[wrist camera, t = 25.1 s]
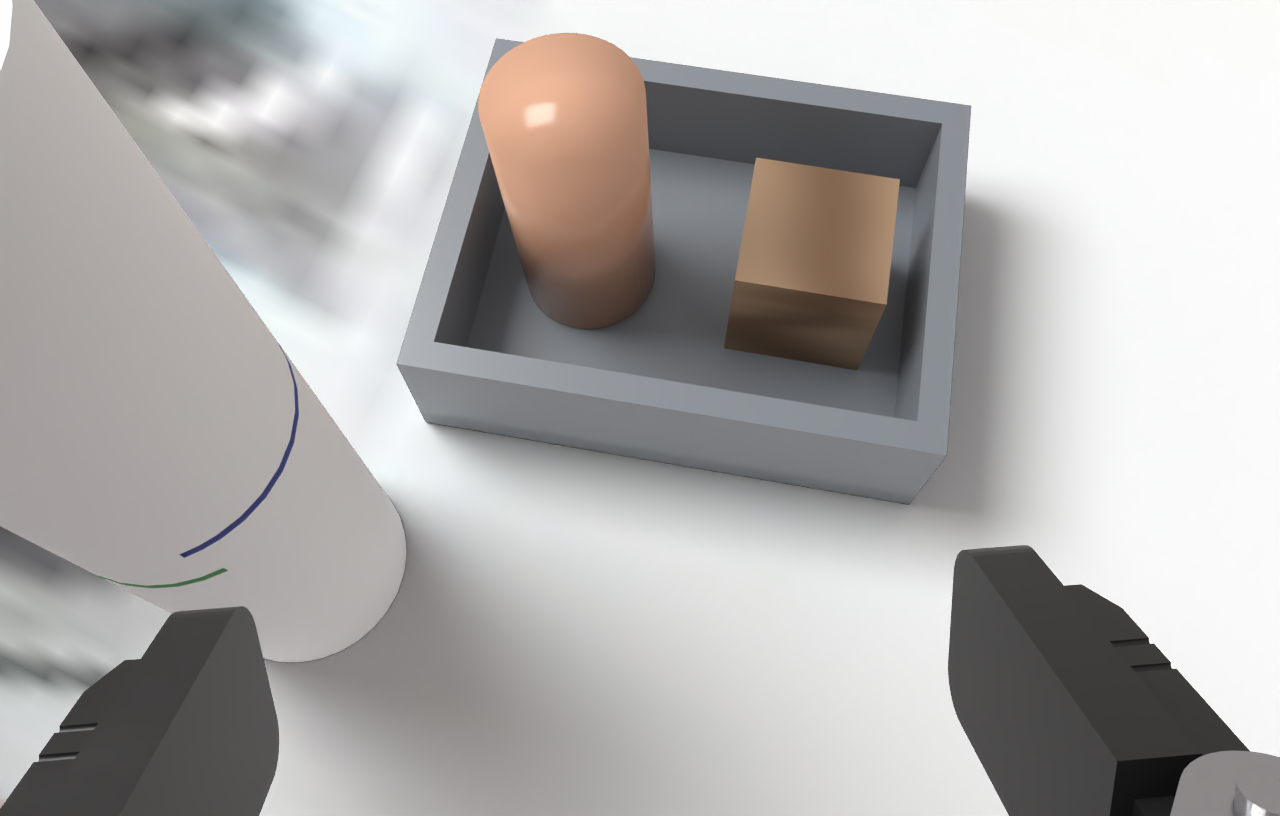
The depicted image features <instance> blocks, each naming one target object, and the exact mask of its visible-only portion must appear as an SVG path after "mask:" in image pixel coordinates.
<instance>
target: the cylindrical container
mask: <svg viewBox="0 0 1280 816" xmlns="http://www.w3.org/2000/svg"><path fill="white" fill-rule="evenodd" d="M0 526H1V527H3V528H5V529H7V530H9V531H11V532H13V533H15V534H17V535H19V536H21V537H23V538H25V539H27V540H29V541H31V542H32V543H34V544H36V545H38V546H40V547H42V548H44V549H46V550H48V551H50V552H52V553H54V554H56V555H58V556H60V557H62V558H64V559H66V560H68V561H70V562H72V563H74V564H76V565H78V566H80V567H82V568H83V569H85V570H87V571H89V572H91V573H93V574H95V575H98V576H99V577H101V578H103V579H105V580H107V581H109V582H111V583H113V584H115V585H117V586H119V587H121V588H123V589H125V590H127V591H129V592H131V593H133V594H135V595H137V596H139V597H141V598H143V599H145V600H147V601H149V602H151V603H153V604H155V605H157V606H159V607H161V608H162V609H164V610H166V611H168V612H170V613H172V614H173V613H174V612H177V611H188V610H200V609H213V608H225V607H238V606H244V607H246V608H247V609H248V610H249V611H250V613H251V614H252V616H253V619H254V622H255V625H256V629H257V633H258V638H259V642H260V646H261V651H262V655H263V658H265V659H269V660H273V661H277V662H305V661H310V660H316V659H321V658H324V657H327V656H329V655H332V654H334V653H337V652H340V651H342V650H343V649H345V648H347V647H348V646H350V645H352V644H354V643H355V642H357V641H358V640H360V639H361V638H362V637H363V636H364V635H365V634H367V633H368V632H369V631H370V630H371V629H373V628H374V626H375V625H376V624H377V623H378V622H379V621H380V619H381V618H382V617H383V616H384V615H385V613H386V612H387V611H388V609H389V607H390V605H391V604H392V602H393V600H394V598H395V597H396V595H397V593H398V590H399V587H400V584H401V581H402V578H403V575H404V571H405V562H406V554H407V550H406V539H405V532H404V529H403V525H402V522H401V519H400V516H399V514H398V512H397V511H396V509H395V507H394V505H393V503H392V502H391V500H390V499H389V497H388V496H387V495H386V493H385V492H384V490H383V489H382V488H381V486H380V485H379V483H378V482H377V481H376V479H375V478H374V476H373V475H372V474H371V472H370V471H369V469H368V468H367V467H366V465H365V464H364V462H363V461H362V460H361V458H360V457H359V455H358V454H357V452H356V451H355V450H354V448H353V447H352V445H351V444H350V443H349V441H348V440H347V438H346V437H345V436H344V434H343V433H342V431H341V430H340V429H339V427H338V426H337V424H336V423H335V422H334V420H333V419H332V417H331V416H330V415H329V413H328V412H327V410H326V409H325V408H324V406H323V405H322V403H321V402H320V401H319V399H318V398H317V396H316V395H315V394H314V392H313V391H312V389H311V388H310V387H309V385H308V384H307V382H306V381H305V380H304V378H303V377H302V375H301V374H300V373H299V371H298V370H297V368H296V367H295V366H294V364H293V363H292V361H291V360H290V359H289V357H288V356H287V354H286V353H285V352H284V350H283V349H282V347H281V346H280V345H279V344H278V342H277V341H276V339H275V338H274V336H273V335H272V333H271V332H270V331H269V329H268V328H267V326H266V325H265V324H264V322H263V321H262V319H261V318H260V317H259V315H258V314H257V312H256V311H255V310H254V308H253V307H252V305H251V304H250V303H249V301H248V300H247V298H246V297H245V296H244V294H243V293H242V291H241V290H240V289H239V287H238V286H237V284H236V283H235V282H234V280H233V279H232V277H231V276H230V275H229V273H228V272H227V270H226V269H225V268H224V266H223V265H222V263H221V262H220V261H219V259H218V258H217V256H216V255H215V254H214V252H213V251H212V249H211V248H210V247H209V245H208V244H207V242H206V241H205V240H204V238H203V237H202V235H201V234H200V233H199V231H198V230H197V228H196V227H195V226H194V224H193V223H192V221H191V220H190V219H189V217H188V216H187V214H186V213H185V212H184V210H183V209H182V207H181V206H180V205H179V203H178V202H177V200H176V199H175V198H174V196H173V195H172V193H171V192H170V191H169V189H168V188H167V186H166V185H165V184H164V182H163V181H162V179H161V178H160V177H159V175H158V174H157V172H156V171H155V170H154V168H153V167H152V165H151V164H150V163H149V161H148V160H147V158H146V157H145V156H144V154H143V153H142V151H141V150H140V149H139V147H138V146H137V144H136V143H135V142H134V140H133V139H132V137H131V136H130V135H129V133H128V132H127V130H126V129H125V128H124V126H123V125H122V123H121V122H120V121H119V119H118V118H117V116H116V115H115V114H114V112H113V111H112V109H111V108H110V107H109V105H108V104H107V102H106V101H105V100H104V98H103V97H102V95H101V94H100V93H99V91H98V90H97V88H96V87H95V86H94V84H93V83H92V81H91V80H90V79H89V77H88V76H87V74H86V73H85V72H84V70H83V69H82V67H81V66H80V65H79V63H78V62H77V60H76V59H75V58H74V56H73V55H72V53H71V52H70V51H69V49H68V48H67V46H66V45H65V44H64V42H63V41H62V39H61V38H60V37H59V35H58V34H57V32H56V31H55V30H54V28H53V27H52V25H51V24H50V23H49V21H48V20H47V18H46V17H45V16H44V14H43V13H42V11H41V10H40V9H39V7H38V6H37V4H36V3H35V2H34V0H0Z"/></svg>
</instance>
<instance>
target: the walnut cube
mask: <svg viewBox="0 0 1280 816" xmlns="http://www.w3.org/2000/svg"><path fill="white" fill-rule="evenodd" d="M899 183H900V179H894V178H888V177H881V176H875V175H868V174H861V173H855V172H848V171H842V170H835V169H828V168H822V167H815V166H809V165H802V164H796V163H789V162H782V161H776V160H769V159H763V158H756V161H755V167H754V173H753V178H752V184H751V190H750V195H749V201H748V207H747V213H746V218H745V224H744V230H743V236H742V241H741V247H740V253H739V259H738V264H737V270H736V276H735V282H734V288H733V294H732V300H731V306H730V313H729V319H728V325H727V331H726V338H725V344H724V348H725V349H731V350H737V351H743V352H749V353H755V354H761V355H767V356H773V357H779V358H785V359H791V360H797V361H803V362H809V363H815V364H821V365H827V366H833V367H839V368H845V369H851V370H858V368H859V366H860V363H861V361H862V359H863V357H864V354H865V352H866V350H867V348H868V345H869V343H870V341H871V339H872V336H873V334H874V332H875V330H876V327H877V325H878V323H879V321H880V318H881V316H882V314H883V312H884V309H885V307H886V305H887V296H888V286H889V277H890V268H891V258H892V249H893V240H894V230H895V221H896V211H897V202H898V193H899Z"/></svg>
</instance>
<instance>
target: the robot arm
mask: <svg viewBox="0 0 1280 816" xmlns="http://www.w3.org/2000/svg"><path fill="white" fill-rule="evenodd" d="M948 675H949V685H950V691H951V696H952V701H953V705H954V708H955V711H956V714H957V717H958V719H959V721H960V723H961V725H962V727H963V729H964V731H965V733H966V735H967V737H968V739H969V740H970V742H971V744H972V746H973V748H974V750H975V752H976V754H977V756H978V757H979V759H980V761H981V763H982V765H983V767H984V769H985V771H986V773H987V775H988V776H989V778H990V780H991V782H992V784H993V786H994V788H995V790H996V792H997V793H998V795H999V797H1000V799H1001V801H1002V803H1003V805H1004V807H1005V809H1006V810H1007V812H1008V814H1009V816H1280V757H1276V756H1272V755H1268V754H1263V753H1257V752H1250V751H1249V750H1248V749H1247V747H1246V746H1245V745H1244V744H1243V743H1242V742H1241V741H1240V740H1239V739H1238V737H1237V736H1236V735H1235V734H1234V733H1233V732H1232V731H1231V730H1230V728H1229V727H1228V726H1227V725H1226V724H1225V723H1224V722H1223V721H1222V720H1221V718H1220V717H1219V716H1218V715H1217V714H1216V713H1215V712H1214V711H1213V709H1212V708H1211V707H1210V706H1209V705H1208V704H1207V703H1206V702H1205V700H1204V699H1203V698H1202V697H1201V696H1200V695H1199V694H1198V693H1197V692H1196V690H1195V689H1194V688H1193V687H1192V686H1191V685H1190V684H1189V683H1188V681H1187V680H1186V679H1185V678H1184V677H1183V676H1182V675H1181V674H1180V673H1179V671H1178V670H1177V669H1172V668H1171V662H1170V661H1169V660H1168V659H1167V658H1166V657H1165V656H1164V655H1163V653H1162V652H1161V651H1160V650H1159V649H1158V648H1157V647H1156V646H1155V645H1154V644H1150V643H1149V638H1148V637H1147V636H1146V634H1145V633H1144V632H1143V631H1142V630H1141V629H1140V628H1139V627H1138V626H1137V624H1136V623H1135V622H1134V621H1133V620H1132V619H1131V618H1130V617H1129V615H1128V614H1127V613H1126V612H1125V611H1124V610H1123V609H1122V608H1121V607H1119V606H1117V605H1116V604H1114V603H1112V602H1110V601H1109V600H1107V599H1105V598H1104V597H1102V596H1100V595H1098V594H1097V593H1095V592H1093V591H1092V590H1090V589H1088V588H1086V587H1085V586H1083V585H1069V586H1063V584H1062V583H1061V582H1060V581H1059V580H1058V578H1057V577H1056V576H1055V575H1054V574H1053V572H1052V571H1051V570H1050V569H1049V568H1048V566H1047V565H1046V564H1045V563H1044V562H1043V560H1042V559H1041V558H1040V557H1039V556H1038V554H1037V553H1036V552H1035V551H1034V550H1033V549H1032V548H1031V547H1029V546H1027V545H1021V546H1008V547H996V548H983V549H971V550H962V551H961V552H959V554H958V556H957V558H956V561H955V566H954V579H953V595H952V611H951V627H950V643H949V660H948ZM278 753H279V728H278V721H277V715H276V711H275V707H274V702H273V698H272V694H271V689H270V685H269V681H268V677H267V672H266V668H265V664H264V659H263V655H262V651H261V646H260V642H259V638H258V633H257V629H256V625H255V622H254V619H253V616H252V614H251V613H250V611H249V610H248V609H247V608H246V607H244V606H238V607H225V608H213V609H200V610H188V611H177V612H174V613H173V614H171V615H170V616H169V618H168V619H167V620H166V622H165V623H164V625H163V626H162V628H161V630H160V631H159V633H158V634H157V636H156V637H155V639H154V640H153V642H152V643H151V645H150V646H149V648H148V649H147V651H146V652H145V654H144V655H143V657H142V658H141V659H137V660H125V661H123V662H122V663H121V664H119V665H118V666H117V667H116V668H114V669H113V670H112V671H110V672H109V673H108V674H106V675H105V676H104V677H103V678H101V679H100V680H99V681H97V682H96V683H95V684H94V685H92V686H91V687H90V688H88V689H87V690H86V691H84V693H83V694H82V695H81V697H80V698H79V700H78V701H77V702H76V704H75V705H74V707H73V708H72V709H71V711H70V712H69V714H68V715H67V716H66V718H65V719H64V721H63V722H62V723H61V725H60V732H59V733H54V735H53V736H52V737H51V739H50V740H49V742H48V743H47V744H46V746H45V747H44V749H43V750H42V751H41V753H40V754H39V762H34V763H33V764H32V765H31V767H30V768H29V770H28V771H27V772H26V774H25V775H24V777H23V778H22V779H21V781H20V782H19V784H18V785H17V786H16V788H15V789H14V791H13V792H12V793H11V795H10V796H9V798H8V799H7V800H6V802H5V803H4V805H3V806H2V808H1V809H0V816H259V814H260V812H261V809H262V806H263V804H264V801H265V799H266V796H267V794H268V791H269V789H270V786H271V783H272V781H273V778H274V775H275V771H276V767H277V761H278Z"/></svg>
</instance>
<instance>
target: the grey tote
mask: <svg viewBox="0 0 1280 816" xmlns="http://www.w3.org/2000/svg"><path fill="white" fill-rule="evenodd" d="M522 43H524V42H518V41H511V40H504V39H497V38H496V41H495V44H494V47H493V50H492V54H491V57H490V60H489V63H488V67H487V70H486V73H485V76H484V79H485V77H486V75H487V74H488V72H489V71H490V69H491V68H492V66H493V65H494V64H495V63H496V62H497V61H498V60H499V59H500V58H501V57H502V56H503V55H505V54H506V53H507V52H509V51H510V50H512V49H513V48H514V47H516V46H518V45H520V44H522ZM630 58H631V57H630ZM631 59H632V61H633V62H634V63H635V64H636V66H637V67H638V69H639V71H640V73H641V75H642V78H643V80H644V84H645V90H646V105H647V123H648V141H649V159H650V177H651V195H652V213H653V231H654V249H655V267H656V273H655V280H654V285H653V287H652V290H651V292H650V294H649V296H648V298H647V299H646V301H645V302H644V303H643V305H642V306H641V307H640V308H639V309H638V310H637V311H636V312H634V313H633V314H632V315H631V316H629V317H628V318H626V319H624V320H623V321H620V322H618V323H616V324H613V325H610V326H607V327H602V328H595V329H581V328H575V327H570V326H567V325H564V324H561V323H559V322H557V321H555V320H553V319H552V318H550V317H549V316H547V315H546V314H545V313H544V312H543V311H542V310H541V309H540V308H539V307H538V306H537V305H536V303H535V302H534V300H533V298H532V296H531V294H530V292H529V289H528V286H527V282H526V279H525V275H524V272H523V268H522V265H521V261H520V258H519V254H518V251H517V247H516V244H515V240H514V237H513V233H512V230H511V226H510V223H509V219H508V216H507V212H506V209H505V205H504V202H503V198H502V195H501V191H500V188H499V184H498V181H497V177H496V174H495V170H494V167H493V163H492V160H491V156H490V153H489V149H488V146H487V142H486V139H485V135H484V132H483V128H482V125H481V121H480V118H479V111H478V99H479V96H478V99H477V102H476V106H475V109H474V112H473V116H472V119H471V122H470V125H469V129H468V132H467V135H466V138H465V142H464V145H463V148H462V151H461V155H460V158H459V161H458V164H457V168H456V171H455V174H454V177H453V181H452V184H451V187H450V191H449V194H448V197H447V200H446V204H445V207H444V210H443V213H442V217H441V220H440V223H439V226H438V230H437V233H436V236H435V239H434V243H433V246H432V249H431V252H430V256H429V259H428V262H427V266H426V269H425V272H424V275H423V279H422V282H421V285H420V288H419V292H418V295H417V298H416V301H415V305H414V308H413V311H412V314H411V318H410V321H409V324H408V327H407V331H406V334H405V337H404V341H403V344H402V347H401V350H400V354H399V357H398V360H397V363H396V364H397V366H398V368H399V370H400V372H401V374H402V376H403V378H404V380H405V382H406V384H407V386H408V388H409V390H410V392H411V394H412V396H413V398H414V400H415V402H416V404H417V406H418V408H419V410H420V412H421V414H422V416H423V418H424V420H425V422H429V423H435V424H440V425H446V426H452V427H458V428H464V429H470V430H476V431H481V432H487V433H493V434H499V435H505V436H511V437H517V438H522V439H528V440H534V441H540V442H546V443H552V444H558V445H563V446H569V447H575V448H581V449H587V450H593V451H599V452H604V453H610V454H616V455H622V456H628V457H634V458H640V459H645V460H651V461H657V462H663V463H669V464H675V465H681V466H686V467H692V468H698V469H704V470H710V471H716V472H722V473H727V474H733V475H739V476H745V477H751V478H757V479H763V480H768V481H774V482H780V483H786V484H792V485H798V486H804V487H809V488H815V489H821V490H827V491H833V492H839V493H844V494H850V495H856V496H862V497H868V498H874V499H880V500H885V501H891V502H897V503H903V504H910V503H911V502H912V500H913V499H914V498H915V496H916V495H917V494H918V492H919V491H920V490H921V489H922V487H923V486H924V485H925V483H926V482H927V481H928V479H929V478H930V477H931V475H932V474H933V473H934V472H935V470H936V469H937V468H938V466H939V465H940V464H941V462H942V461H943V460H944V458H945V457H946V456H947V445H948V431H949V416H950V402H951V388H952V373H953V359H954V345H955V330H956V316H957V302H958V287H959V273H960V259H961V245H962V230H963V216H964V202H965V187H966V173H967V159H968V144H969V130H970V116H971V106H969V105H962V104H955V103H948V102H941V101H934V100H927V99H920V98H913V97H906V96H899V95H892V94H885V93H878V92H871V91H863V90H856V89H849V88H842V87H835V86H828V85H821V84H814V83H807V82H800V81H793V80H786V79H779V78H772V77H765V76H758V75H751V74H744V73H736V72H729V71H722V70H715V69H708V68H701V67H694V66H687V65H680V64H673V63H666V62H659V61H652V60H645V59H638V58H631ZM483 81H484V80H483ZM756 158H763V159H769V160H776V161H782V162H789V163H796V164H802V165H809V166H815V167H822V168H828V169H835V170H842V171H848V172H855V173H861V174H868V175H875V176H881V177H888V178H894V179H900V183H899V193H898V202H897V211H896V221H895V230H894V240H893V249H892V258H891V268H890V277H889V286H888V296H887V305H886V307H885V309H884V312H883V314H882V316H881V318H880V321H879V323H878V325H877V327H876V330H875V332H874V334H873V336H872V339H871V341H870V343H869V345H868V348H867V350H866V352H865V354H864V357H863V359H862V361H861V363H860V366H859V368H858V370H851V369H845V368H839V367H833V366H827V365H821V364H815V363H809V362H803V361H797V360H791V359H785V358H779V357H773V356H767V355H761V354H755V353H749V352H743V351H737V350H731V349H725V348H724V344H725V338H726V331H727V325H728V319H729V313H730V306H731V300H732V294H733V288H734V282H735V276H736V270H737V264H738V259H739V253H740V247H741V241H742V236H743V230H744V224H745V218H746V213H747V207H748V201H749V195H750V190H751V184H752V178H753V173H754V167H755V161H756Z"/></svg>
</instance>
